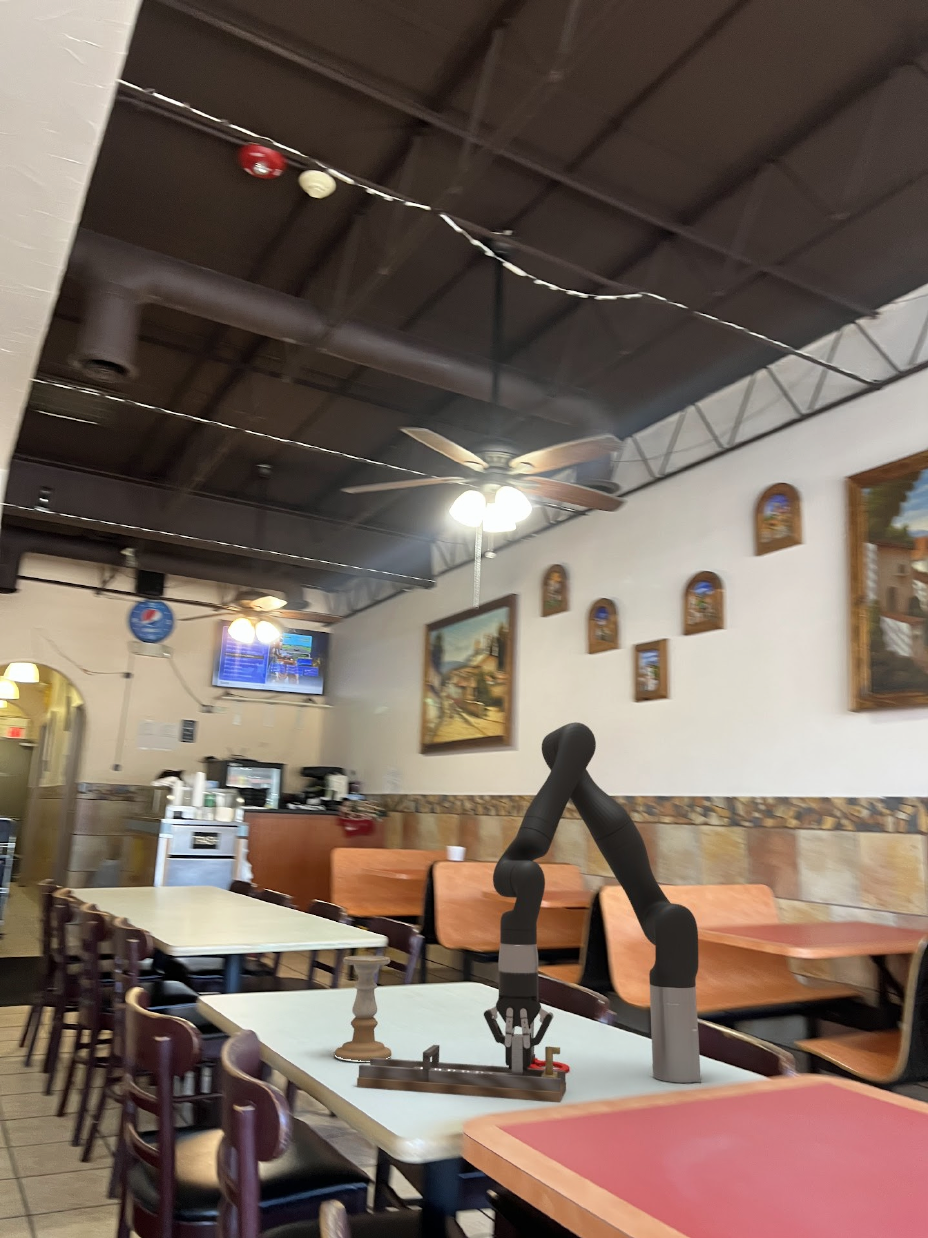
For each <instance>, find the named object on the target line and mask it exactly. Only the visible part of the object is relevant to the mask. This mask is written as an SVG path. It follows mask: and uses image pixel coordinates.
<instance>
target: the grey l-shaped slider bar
mask: <svg viewBox="0 0 928 1238" xmlns="http://www.w3.org/2000/svg"><path fill="white" fill-rule="evenodd" d="M523 1048H524V1043H523V1034H522V1033H514V1035H513V1036H512V1073H501V1072H499V1073H498V1072H487V1071H485V1072H483V1071H472V1070H471V1071H469V1070H455V1069H441V1068H430V1069H433V1070H448V1071H462V1072H477V1073H491V1074H505V1075H520V1076H525V1070H523ZM414 1068H419V1069H422V1067H414Z"/></svg>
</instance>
